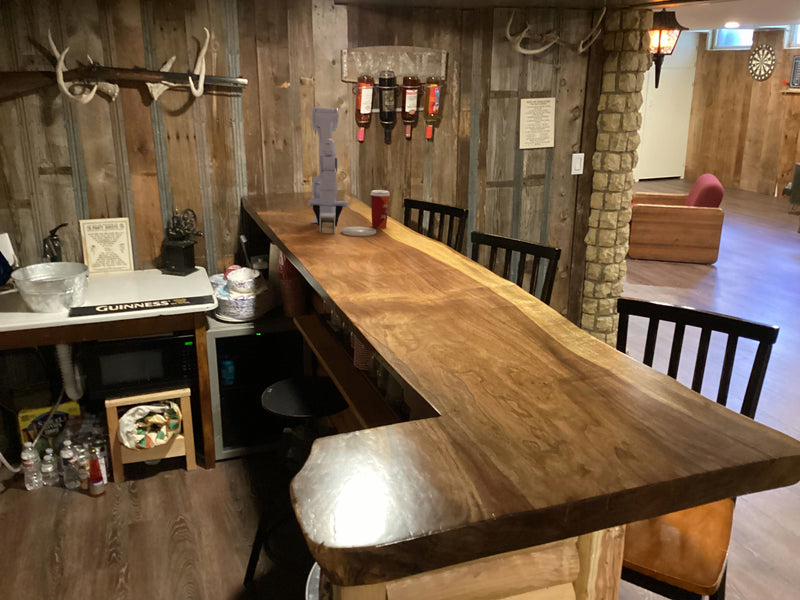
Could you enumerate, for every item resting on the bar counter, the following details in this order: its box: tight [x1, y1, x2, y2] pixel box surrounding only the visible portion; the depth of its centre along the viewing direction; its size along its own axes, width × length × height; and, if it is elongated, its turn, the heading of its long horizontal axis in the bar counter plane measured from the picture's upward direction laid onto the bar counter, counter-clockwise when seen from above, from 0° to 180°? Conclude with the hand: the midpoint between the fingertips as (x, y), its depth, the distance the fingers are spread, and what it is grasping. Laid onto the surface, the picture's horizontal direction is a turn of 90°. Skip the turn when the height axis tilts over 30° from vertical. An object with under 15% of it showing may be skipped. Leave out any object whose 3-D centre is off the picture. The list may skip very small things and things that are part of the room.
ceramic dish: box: [341, 226, 377, 238], centre depth 261 cm, size 13×13×1 cm
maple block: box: [321, 220, 334, 234], centre depth 260 cm, size 4×4×4 cm
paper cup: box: [369, 189, 391, 229], centre depth 271 cm, size 8×8×14 cm
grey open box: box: [319, 213, 336, 234], centre depth 259 cm, size 6×6×6 cm
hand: (327, 225), depth 259 cm, fingers closed on grey open box, 6 cm apart
